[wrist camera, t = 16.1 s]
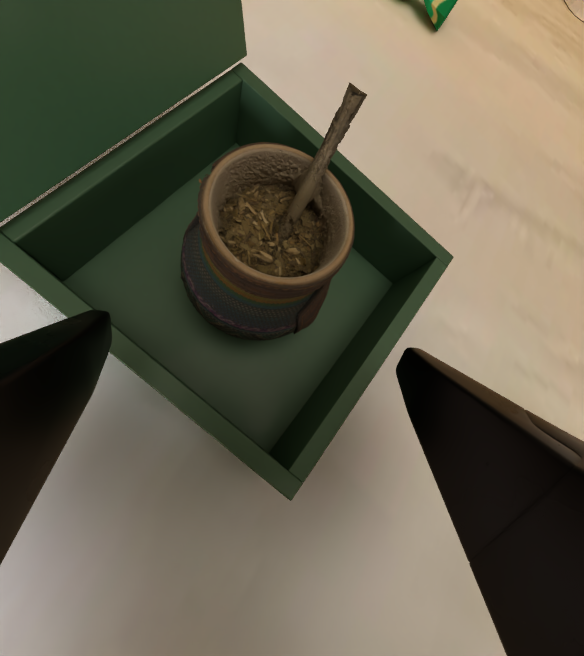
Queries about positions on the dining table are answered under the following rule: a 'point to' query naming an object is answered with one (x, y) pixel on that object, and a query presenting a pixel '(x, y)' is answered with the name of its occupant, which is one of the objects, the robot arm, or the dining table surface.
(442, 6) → the candy
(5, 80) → the green box lid
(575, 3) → the white cylinder
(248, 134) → the green open box
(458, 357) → the dining table surface
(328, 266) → the mate gourd
